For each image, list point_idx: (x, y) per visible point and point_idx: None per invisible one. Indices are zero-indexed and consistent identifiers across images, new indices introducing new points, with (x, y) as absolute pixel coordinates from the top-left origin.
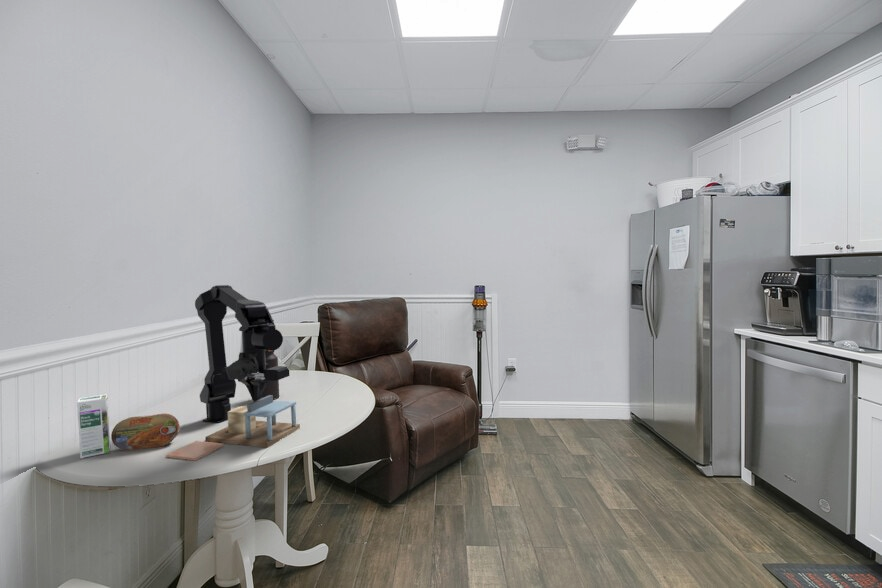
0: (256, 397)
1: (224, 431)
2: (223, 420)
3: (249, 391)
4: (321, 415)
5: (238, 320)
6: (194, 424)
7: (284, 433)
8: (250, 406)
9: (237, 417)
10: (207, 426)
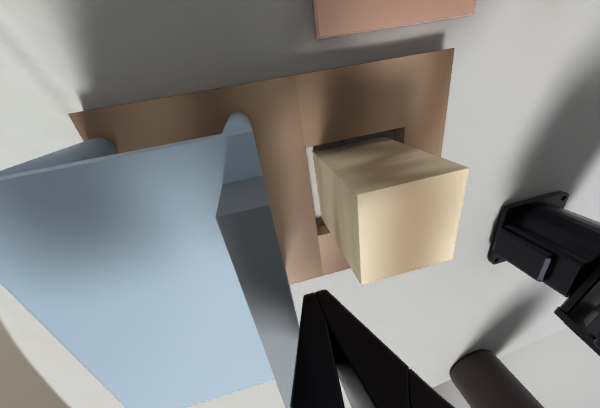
0: (298, 339)
1: (413, 135)
2: (498, 223)
3: (407, 377)
4: None
5: None
6: (575, 163)
7: None
8: (222, 205)
9: (380, 173)
10: (522, 169)
